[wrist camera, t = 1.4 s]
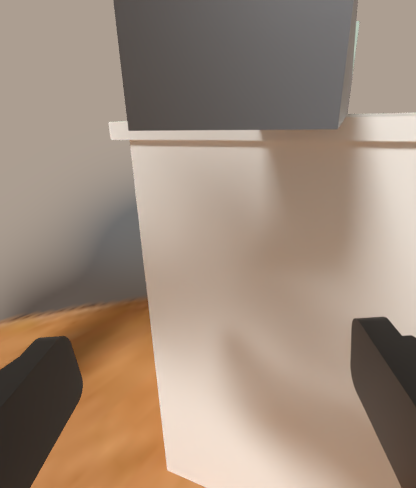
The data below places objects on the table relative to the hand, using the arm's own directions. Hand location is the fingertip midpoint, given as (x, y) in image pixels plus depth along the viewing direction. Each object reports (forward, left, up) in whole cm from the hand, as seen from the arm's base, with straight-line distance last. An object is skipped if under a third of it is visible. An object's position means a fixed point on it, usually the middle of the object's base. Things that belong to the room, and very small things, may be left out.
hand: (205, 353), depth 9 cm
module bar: (+1, +11, +6) cm, 13 cm away
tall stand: (+1, +17, -26) cm, 31 cm away
